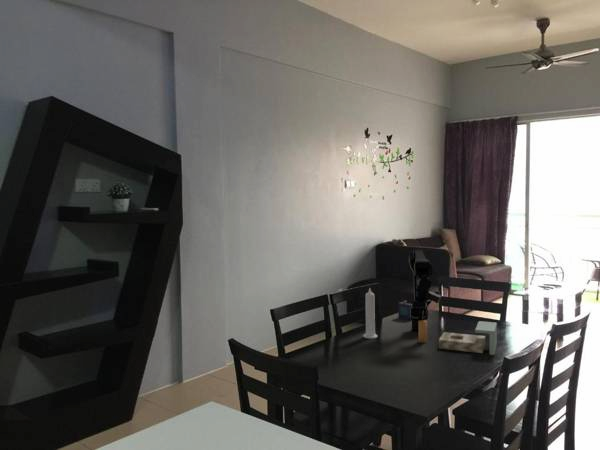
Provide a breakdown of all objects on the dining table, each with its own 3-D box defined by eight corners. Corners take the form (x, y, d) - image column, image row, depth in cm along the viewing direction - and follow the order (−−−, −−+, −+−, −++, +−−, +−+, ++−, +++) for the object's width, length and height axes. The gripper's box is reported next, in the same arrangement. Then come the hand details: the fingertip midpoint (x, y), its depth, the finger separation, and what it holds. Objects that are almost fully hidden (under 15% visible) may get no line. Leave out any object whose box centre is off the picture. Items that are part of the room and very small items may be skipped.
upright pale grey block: (475, 353, 223) (475, 329, 222) (478, 343, 237) (478, 321, 237) (494, 355, 220) (494, 331, 219) (496, 344, 234) (496, 322, 233)
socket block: (439, 348, 231) (438, 339, 230) (443, 340, 243) (443, 332, 243) (482, 353, 223) (482, 344, 222) (485, 344, 235) (485, 336, 235)
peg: (417, 342, 241) (417, 321, 240) (419, 340, 244) (419, 319, 244) (426, 343, 239) (426, 322, 238) (427, 340, 243) (427, 320, 242)
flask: (413, 319, 284) (413, 301, 283) (410, 320, 282) (410, 302, 281) (400, 317, 291) (399, 299, 290) (397, 318, 289) (396, 299, 288)
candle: (377, 339, 248) (376, 289, 246) (362, 338, 249) (362, 288, 248) (377, 335, 254) (377, 286, 253) (363, 334, 256) (363, 286, 254)
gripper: (436, 290, 228) (436, 324, 229) (442, 283, 245) (442, 315, 246) (411, 289, 233) (412, 322, 234) (420, 282, 250) (420, 313, 251)
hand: (422, 318), depth 241 cm, fingers open, 9 cm apart
